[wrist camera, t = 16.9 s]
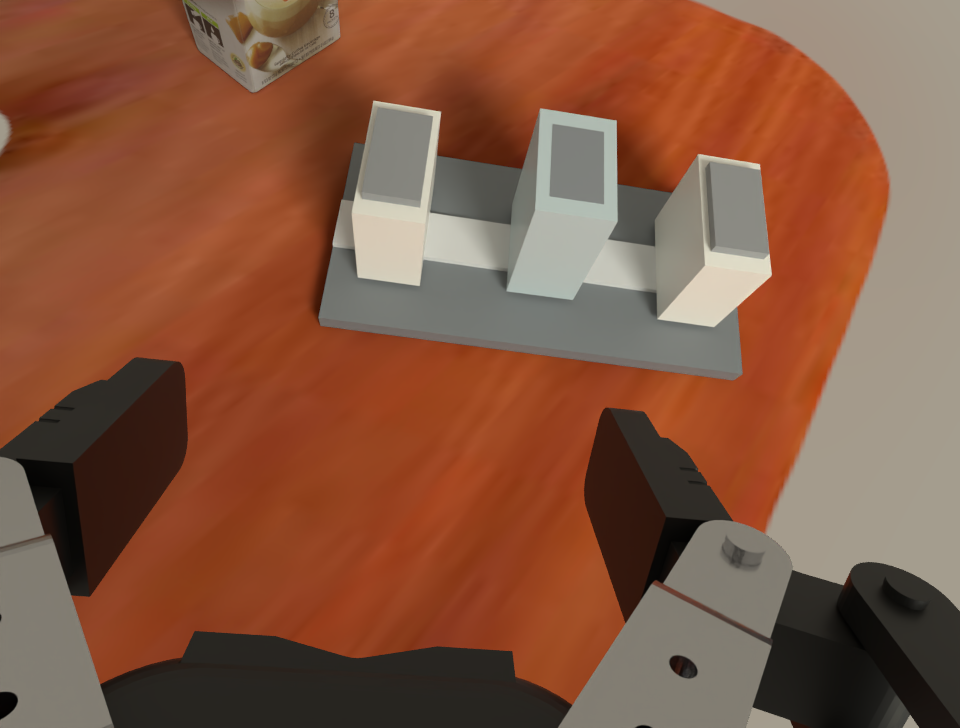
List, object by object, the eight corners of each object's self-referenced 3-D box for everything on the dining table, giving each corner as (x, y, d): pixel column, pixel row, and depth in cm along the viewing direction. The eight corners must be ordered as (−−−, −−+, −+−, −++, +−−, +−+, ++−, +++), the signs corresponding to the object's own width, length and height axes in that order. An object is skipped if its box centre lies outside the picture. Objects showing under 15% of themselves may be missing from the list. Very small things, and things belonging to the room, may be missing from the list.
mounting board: (320, 325, 41) (317, 314, 39) (355, 153, 46) (354, 138, 44) (733, 380, 43) (745, 371, 42) (720, 211, 48) (731, 198, 47)
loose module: (506, 291, 42) (535, 209, 33) (512, 203, 44) (540, 108, 36) (572, 300, 42) (617, 221, 34) (574, 213, 45) (616, 120, 36)
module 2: (657, 319, 42) (710, 259, 35) (654, 220, 45) (702, 147, 38) (714, 327, 43) (777, 269, 36) (707, 228, 46) (764, 157, 39)
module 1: (357, 277, 40) (350, 206, 33) (376, 177, 44) (373, 92, 37) (419, 286, 41) (425, 217, 34) (433, 186, 44) (441, 104, 37)
